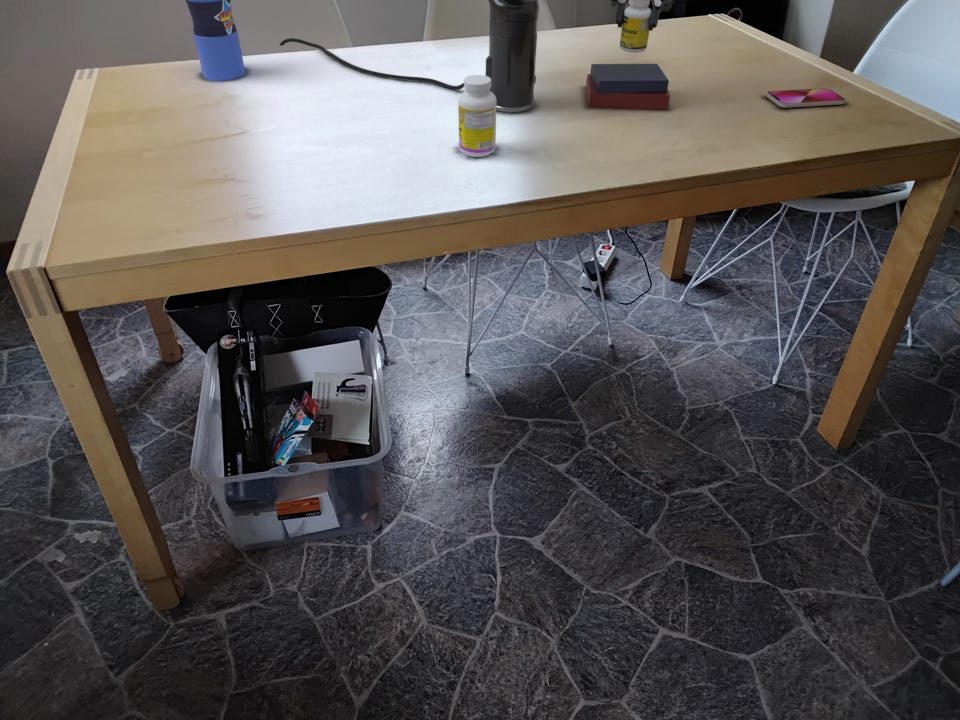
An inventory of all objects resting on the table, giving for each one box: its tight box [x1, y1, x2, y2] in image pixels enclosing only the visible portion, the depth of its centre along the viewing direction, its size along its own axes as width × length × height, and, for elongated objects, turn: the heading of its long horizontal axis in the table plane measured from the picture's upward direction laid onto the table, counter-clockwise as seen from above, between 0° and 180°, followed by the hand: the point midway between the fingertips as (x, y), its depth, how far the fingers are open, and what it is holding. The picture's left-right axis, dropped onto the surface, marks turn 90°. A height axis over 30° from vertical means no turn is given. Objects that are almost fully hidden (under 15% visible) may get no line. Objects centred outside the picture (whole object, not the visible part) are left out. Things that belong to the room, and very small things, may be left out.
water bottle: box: [185, 0, 246, 82], centre depth 152 cm, size 9×9×25 cm
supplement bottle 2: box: [619, 0, 652, 54], centre depth 142 cm, size 5×5×10 cm
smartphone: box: [765, 87, 847, 109], centre depth 152 cm, size 7×1×15 cm
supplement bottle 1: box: [458, 74, 497, 158], centre depth 128 cm, size 7×7×13 cm
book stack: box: [585, 63, 671, 111], centre depth 150 cm, size 16×11×6 cm
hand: (635, 26), depth 141 cm, fingers closed on supplement bottle 2, 5 cm apart
